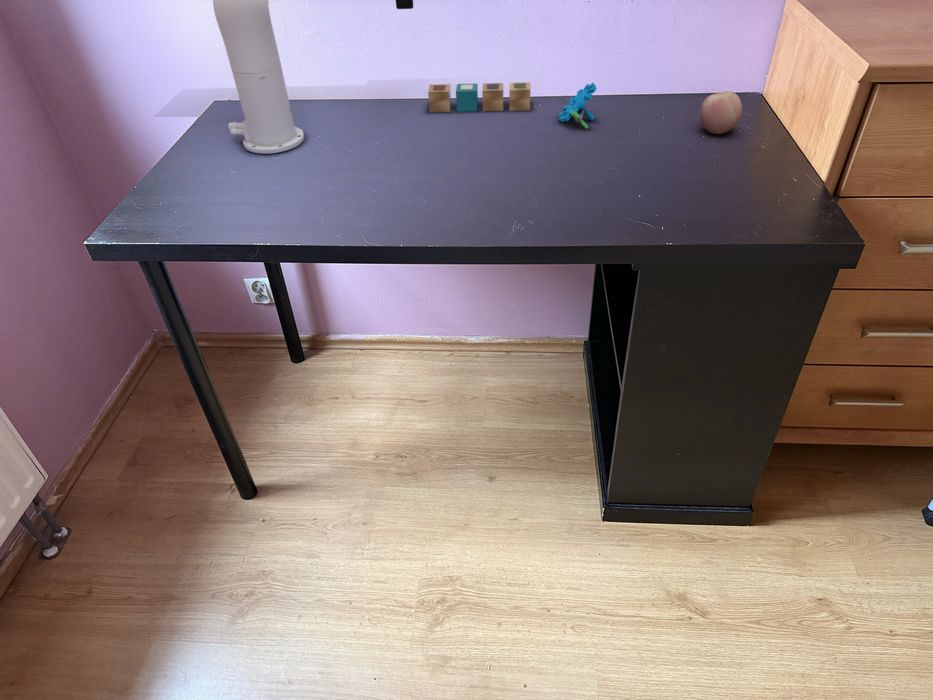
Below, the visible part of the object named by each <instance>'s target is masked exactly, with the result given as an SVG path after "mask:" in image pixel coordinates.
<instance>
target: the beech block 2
mask: <svg viewBox="0 0 933 700" xmlns="http://www.w3.org/2000/svg"><path fill="white" fill-rule="evenodd" d="M481 101H482V112H503V111H504V82H489V83H488V82H487V83H486V82H485V83H482V90H481Z"/></svg>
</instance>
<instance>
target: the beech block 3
mask: <svg viewBox="0 0 933 700" xmlns="http://www.w3.org/2000/svg"><path fill="white" fill-rule="evenodd" d="M508 98H509V100H508V101H509V102H508V103H509V107H508V108H509V109H508V110H509V111H510V112H513V111H516V112H517V111H520V112H521V111H531V82H529V81H528V82H527V81H526V82H509V97H508Z"/></svg>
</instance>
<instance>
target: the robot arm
mask: <svg viewBox="0 0 933 700" xmlns="http://www.w3.org/2000/svg"><path fill="white" fill-rule="evenodd" d="M212 5H213V6H212V7H213V11H214V12H213V13H214V16H215V19H216V23H217V26H218V29H219V32H220V35H221V38H222V42H223V44H224V47H225V51H226V55H227V58H228V62H229V66H230V70H231V72H232V76H233V80H234V84H235V88H236V91H237V95H238V98H239V102H240V107H241V110H242V114H243V118H244V120H243V121H242V122H238V121H235V122H233V121H232V122H231V121H230V122H228V124H227V125H228V126H227V127H228V129H229V132H230V135H231V136H242V137H244V138H243V139H242V143H243V147H244V148H245V150H247V151H249V152H251V153H254V154H259V155H260V154H261V155H269V154H270V155H271V154H277V153H283V152H287V151H290V150H292V149H295V148H296V147H298V146H300V145H301V144H302V143H303V142H304V140H305V133H304V131H303V129H302V128H300V127H298V126H295V123H294V119H293V113H292V108H291V104H290V100H289V95H288V90H287V86H286V81H285V75H284V72H283V66H282V61H281V60H280V54H279V49H278V43H277V41H276V40H277V39H276V36H275V32H274V27H273V22H272V18H271V13H270V7H269V0H212ZM395 7H396V9H397V10H412V9H413V8H414V0H395Z"/></svg>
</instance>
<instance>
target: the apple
mask: <svg viewBox="0 0 933 700" xmlns="http://www.w3.org/2000/svg"><path fill="white" fill-rule="evenodd" d="M742 113H743V103H742V100H741V99H740V96H739V95H738V94H737V93H736V92H734V91H731V90H727V91H722V92H717V93H713V94H710V95H708V96H707V97H706V98H705V99H704V100H703V101H702V103H701V106H700V111H699V117H700V121H701V124H702V126H703V127H704V129H705V130H706V131H707V132H708V133H710V134H713V135H721V134H725V133H727V132H729V131H731V130H732V129H734V128H735V127H736V126H737V125H738V123H739V122H740V121H741V117H742Z"/></svg>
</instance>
